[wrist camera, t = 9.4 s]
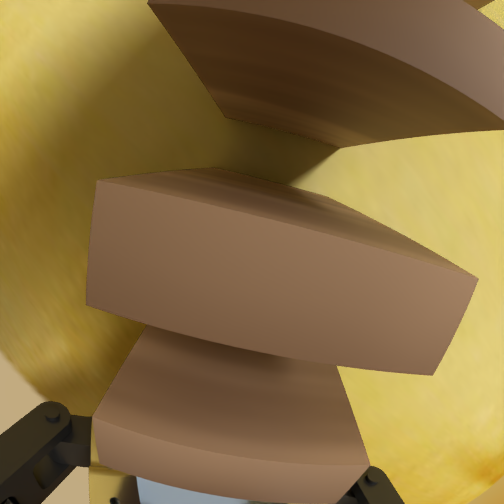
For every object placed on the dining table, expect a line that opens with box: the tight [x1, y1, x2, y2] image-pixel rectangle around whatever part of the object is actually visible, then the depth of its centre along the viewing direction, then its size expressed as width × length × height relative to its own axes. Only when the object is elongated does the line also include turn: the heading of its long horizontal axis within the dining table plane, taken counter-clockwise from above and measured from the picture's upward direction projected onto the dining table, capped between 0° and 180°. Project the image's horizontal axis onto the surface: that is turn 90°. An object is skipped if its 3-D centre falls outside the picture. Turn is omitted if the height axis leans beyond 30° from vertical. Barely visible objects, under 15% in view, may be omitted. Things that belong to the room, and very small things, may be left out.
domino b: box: [86, 167, 478, 376], centre depth 8 cm, size 2×5×10 cm, turn 76°
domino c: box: [147, 0, 504, 148], centre depth 7 cm, size 2×5×10 cm, turn 76°
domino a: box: [92, 324, 370, 504], centre depth 9 cm, size 2×5×10 cm, turn 76°
